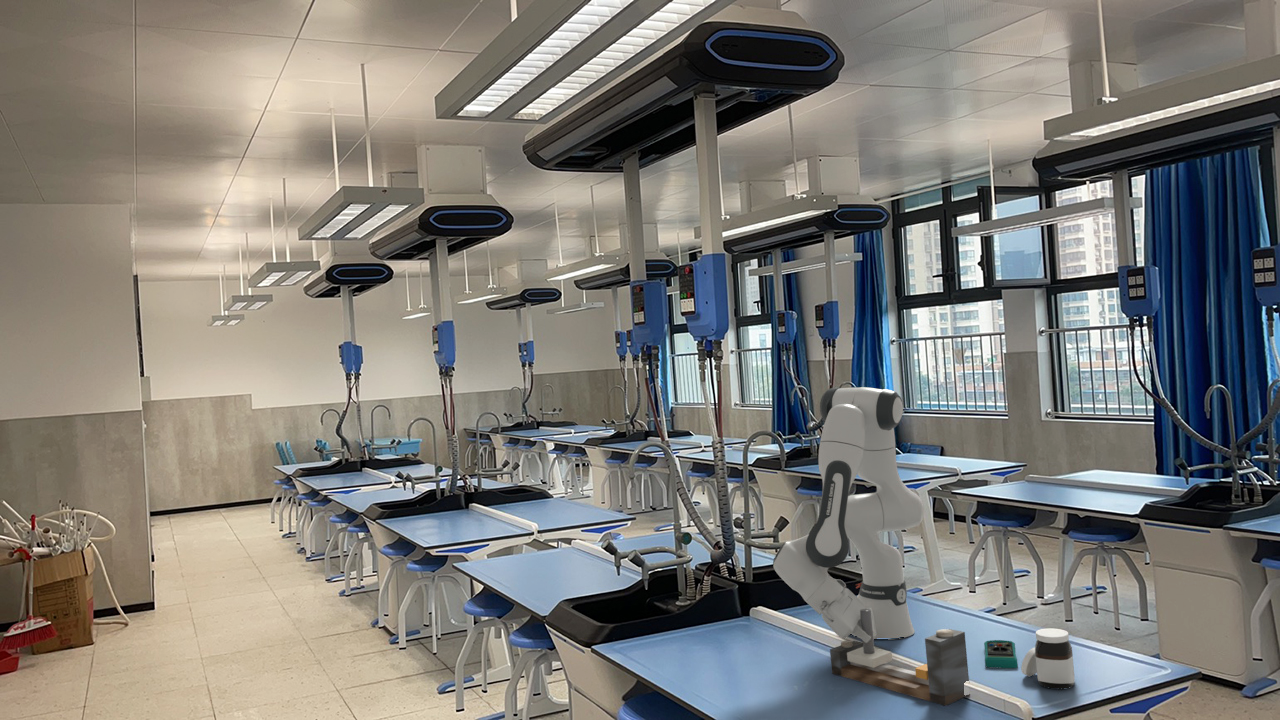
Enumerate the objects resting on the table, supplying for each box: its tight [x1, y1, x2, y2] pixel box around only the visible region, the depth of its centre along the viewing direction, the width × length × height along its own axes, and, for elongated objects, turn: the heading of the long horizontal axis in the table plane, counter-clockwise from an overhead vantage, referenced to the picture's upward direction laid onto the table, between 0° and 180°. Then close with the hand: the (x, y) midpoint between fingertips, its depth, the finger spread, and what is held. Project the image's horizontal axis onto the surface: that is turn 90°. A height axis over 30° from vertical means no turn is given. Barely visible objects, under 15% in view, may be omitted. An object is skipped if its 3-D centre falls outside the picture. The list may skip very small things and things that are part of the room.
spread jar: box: [1020, 627, 1076, 690], centre depth 213 cm, size 12×11×12 cm
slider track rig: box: [829, 628, 970, 707], centre depth 220 cm, size 33×9×15 cm, turn 36°
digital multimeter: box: [983, 639, 1019, 669], centre depth 231 cm, size 7×15×3 cm, turn 160°
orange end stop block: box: [914, 663, 928, 680], centre depth 213 cm, size 3×5×2 cm, turn 126°
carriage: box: [847, 609, 893, 668], centre depth 226 cm, size 8×7×12 cm
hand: (870, 637), depth 226 cm, fingers closed on carriage, 3 cm apart
